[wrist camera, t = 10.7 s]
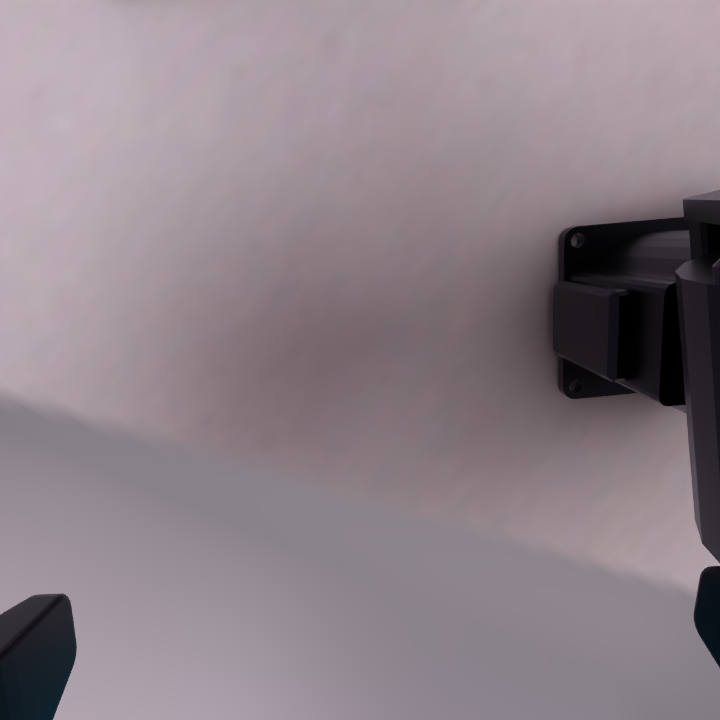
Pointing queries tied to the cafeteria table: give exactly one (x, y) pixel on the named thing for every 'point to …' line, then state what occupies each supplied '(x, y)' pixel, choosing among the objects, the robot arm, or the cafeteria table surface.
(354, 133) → the cafeteria table surface
